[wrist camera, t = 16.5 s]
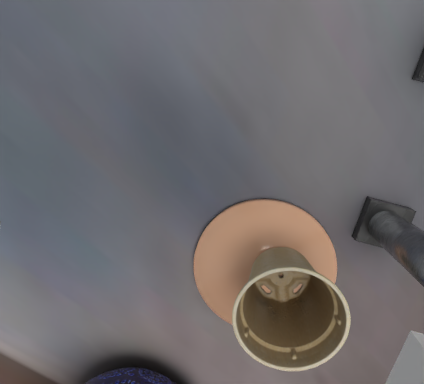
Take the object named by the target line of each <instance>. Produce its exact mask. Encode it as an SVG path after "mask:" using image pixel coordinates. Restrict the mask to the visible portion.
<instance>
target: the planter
mask: <svg viewBox="0 0 424 384" xmlns="http://www.w3.org/2000/svg"><path fill="white" fill-rule="evenodd" d="M85 384H176V383H175V382H173V381H172V380H171V379H169V378H168V377H166V376H164V375H162V374H160V373H158V372H155V371H152V370H149V369H144V368H137V367H127V368H120V369H115V370H111V371H108V372H105V373H103V374H101V375H98V376H96V377H94V378H92V379H91V380H89V381H88V382H86V383H85Z"/></svg>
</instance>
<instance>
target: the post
mask: <svg viewBox="0 0 424 384" xmlns="http://www.w3.org/2000/svg"><path fill="white" fill-rule="evenodd" d="M415 213H416V211H414V210H413V209H411V208H408V207H404V206H401V205H397V204H393V203H389V202H386V201H382V200H378V199H374V198H371V197H367V198H366V201H365V204H364V206H363V209H362V212H361V214H360V217H359V219H358V222H357V225H356V227H355V230H354V233H353V235H352V237H353V238H354V239H355V240H356V241H360V242H363V243H367V244H371V245H374V246H378V247H382V248H384V249H385V250H386V251H387V252H389V253H390V254H391V255H392V256H393V257H394V258H395V259H396V260H397V261H398V262H399V263H400V264H401V265H402V266H403V267H404V268H405V269H406V270H407V271H408V272H409V273H410V274H411V275H412V276H413V277H414V278H415V279H416V280H417V281H418V282H419V283H420V284H421V285H422V286H423V287H424V231H422V230H421V229H419V228H418V227H416V226H415V225H413V224H412V223H411V222H412V220H413V218H414V215H415Z"/></svg>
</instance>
